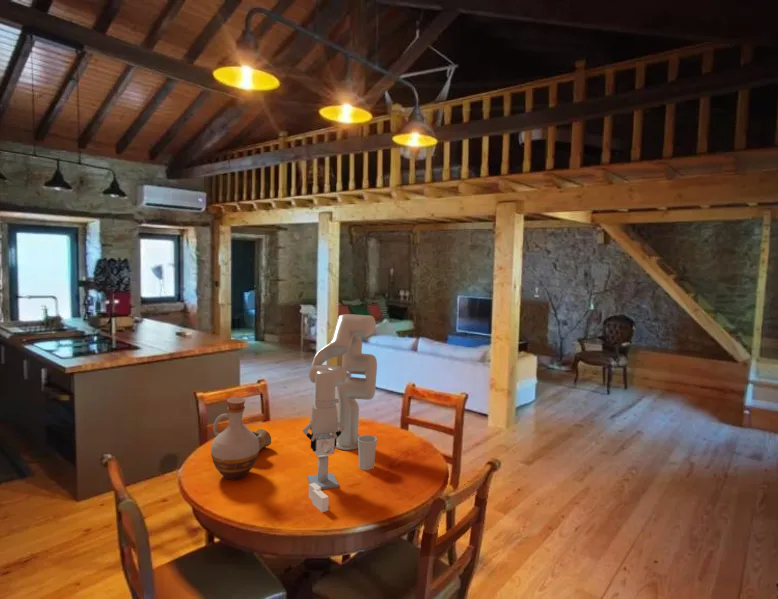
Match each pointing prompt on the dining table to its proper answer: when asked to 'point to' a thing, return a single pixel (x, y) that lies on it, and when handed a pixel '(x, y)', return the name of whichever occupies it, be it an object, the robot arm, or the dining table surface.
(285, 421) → the dining table surface
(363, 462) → the cup
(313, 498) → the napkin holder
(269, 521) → the dining table surface
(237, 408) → the jug
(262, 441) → the pipe
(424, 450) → the dining table surface
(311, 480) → the flange
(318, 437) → the collar
